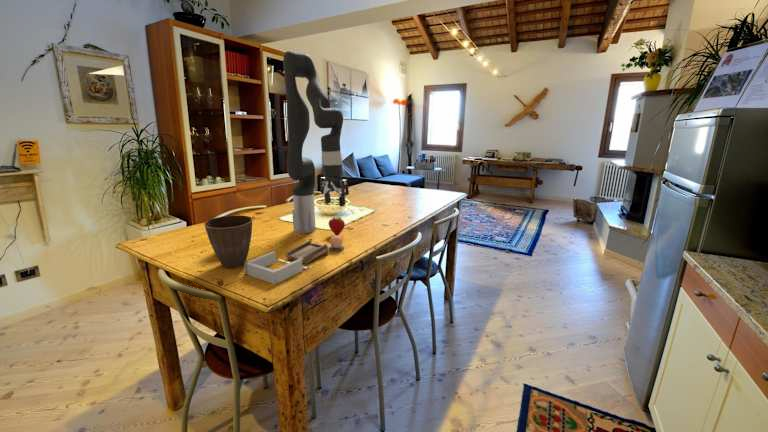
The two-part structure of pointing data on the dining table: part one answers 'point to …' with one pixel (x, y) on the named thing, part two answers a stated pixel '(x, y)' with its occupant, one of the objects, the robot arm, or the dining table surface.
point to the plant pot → (230, 239)
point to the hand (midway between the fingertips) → (335, 204)
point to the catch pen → (273, 276)
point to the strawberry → (336, 225)
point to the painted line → (289, 262)
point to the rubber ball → (336, 241)
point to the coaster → (336, 248)
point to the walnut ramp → (307, 251)
